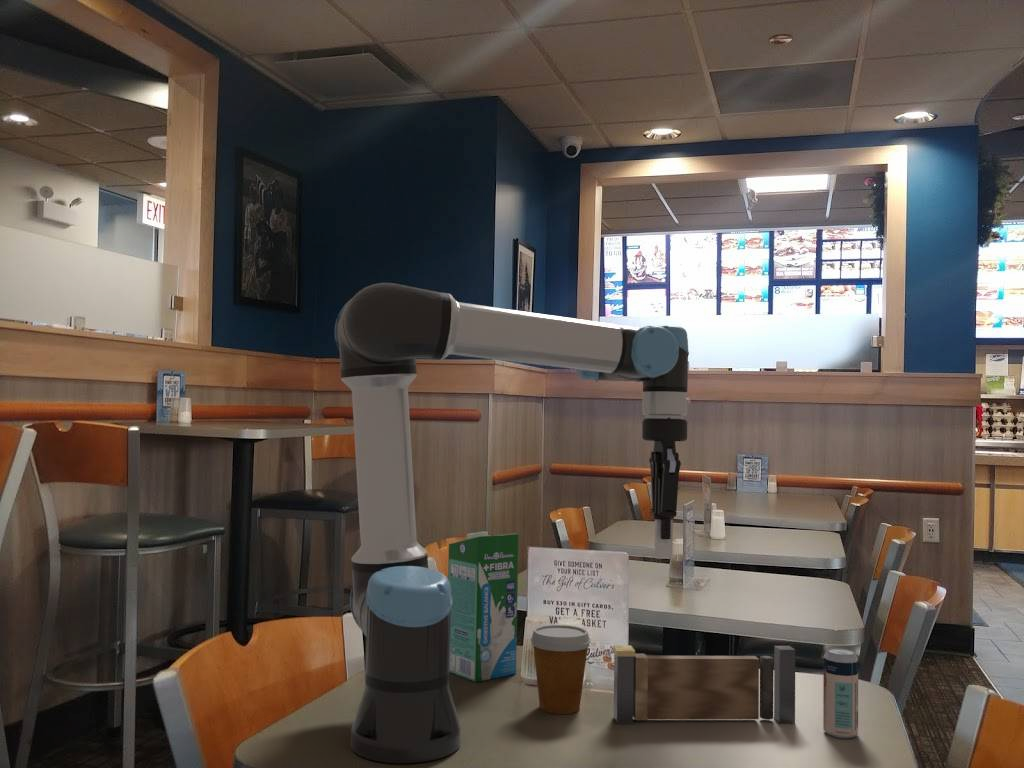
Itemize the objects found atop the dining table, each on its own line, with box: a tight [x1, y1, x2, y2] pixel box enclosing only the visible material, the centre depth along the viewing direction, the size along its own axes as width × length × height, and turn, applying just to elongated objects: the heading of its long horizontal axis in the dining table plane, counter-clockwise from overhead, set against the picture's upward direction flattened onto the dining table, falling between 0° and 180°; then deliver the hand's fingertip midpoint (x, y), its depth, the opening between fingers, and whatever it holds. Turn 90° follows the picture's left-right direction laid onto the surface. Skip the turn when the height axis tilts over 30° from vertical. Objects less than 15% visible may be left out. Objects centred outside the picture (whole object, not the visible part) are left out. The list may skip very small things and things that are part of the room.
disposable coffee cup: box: [530, 624, 592, 715], centre depth 142 cm, size 10×10×12 cm
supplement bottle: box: [822, 647, 859, 740], centre depth 132 cm, size 5×5×12 cm
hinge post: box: [773, 645, 796, 724], centre depth 138 cm, size 2×2×11 cm
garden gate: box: [633, 653, 774, 721], centre depth 137 cm, size 21×2×9 cm, turn 93°
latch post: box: [612, 644, 636, 725], centre depth 136 cm, size 3×3×11 cm
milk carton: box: [447, 531, 519, 683], centre depth 162 cm, size 9×9×25 cm
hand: (663, 557), depth 151 cm, fingers closed
